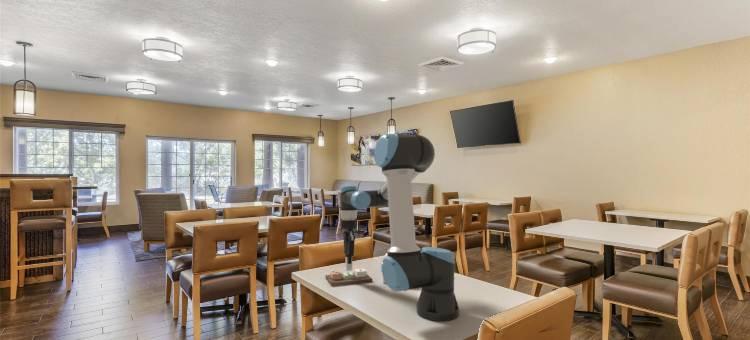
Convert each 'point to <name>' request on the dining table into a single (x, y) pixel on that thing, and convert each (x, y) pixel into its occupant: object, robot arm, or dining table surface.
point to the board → (348, 280)
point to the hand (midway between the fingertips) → (348, 270)
